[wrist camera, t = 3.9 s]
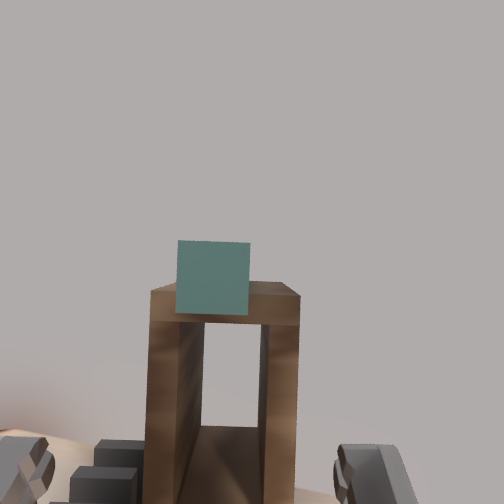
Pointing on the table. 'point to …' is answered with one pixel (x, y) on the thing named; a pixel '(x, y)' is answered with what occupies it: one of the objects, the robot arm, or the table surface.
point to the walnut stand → (220, 437)
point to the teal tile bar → (212, 277)
